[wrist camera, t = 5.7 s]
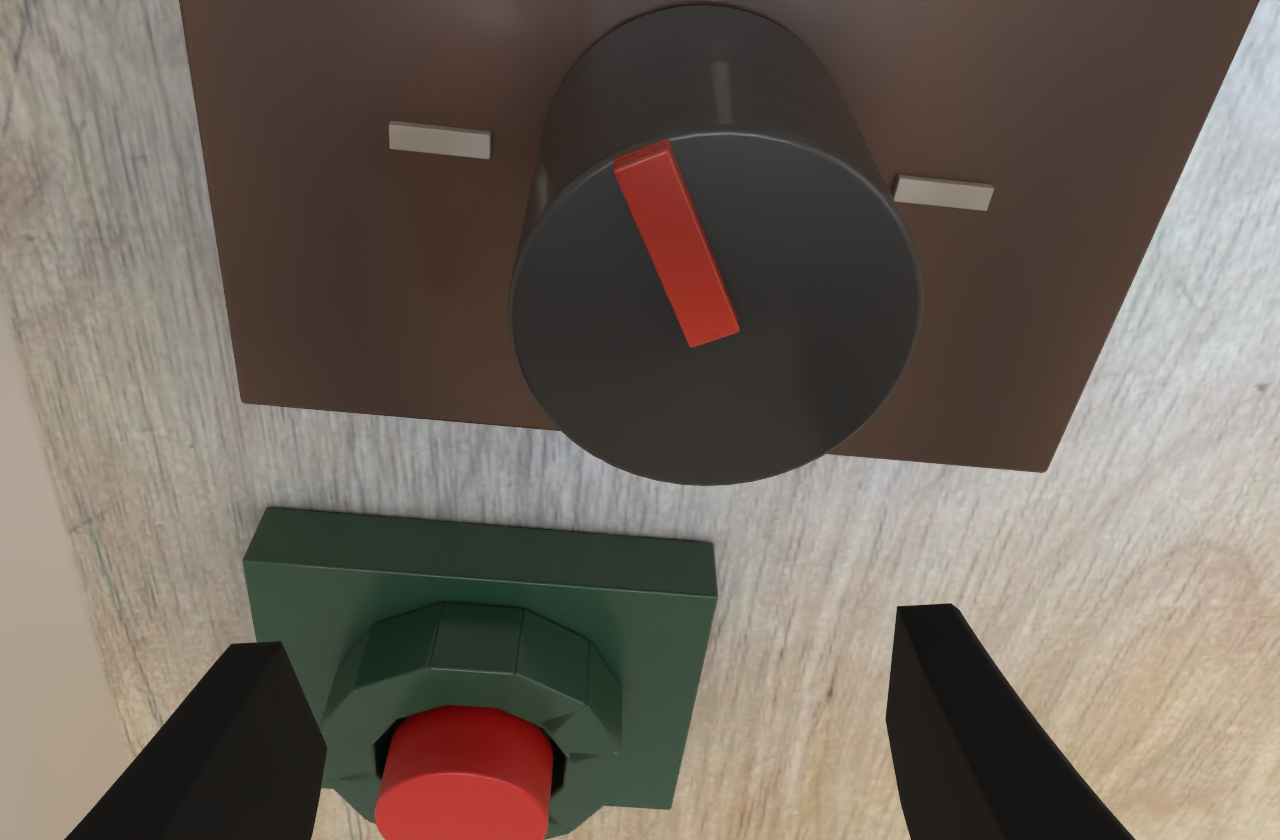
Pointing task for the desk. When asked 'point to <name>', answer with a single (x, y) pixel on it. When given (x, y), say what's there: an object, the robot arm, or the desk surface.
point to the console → (509, 145)
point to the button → (466, 777)
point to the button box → (490, 643)
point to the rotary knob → (709, 255)
